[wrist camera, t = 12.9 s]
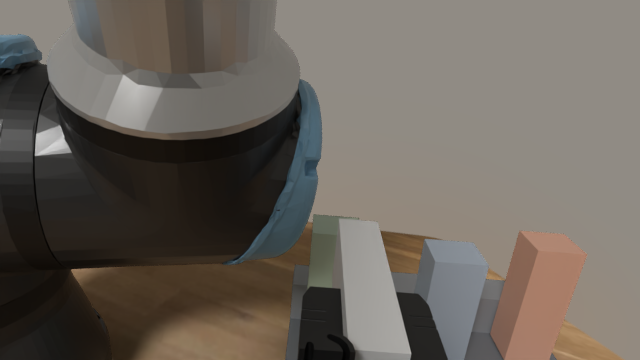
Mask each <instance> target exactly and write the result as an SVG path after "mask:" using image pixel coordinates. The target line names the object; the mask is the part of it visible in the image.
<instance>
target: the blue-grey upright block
mask: <svg viewBox="0 0 640 360" xmlns="http://www.w3.org/2000/svg"><path fill="white" fill-rule="evenodd" d="M488 268H489V265H488V264H487V262H486V261H485V259H484V258H483V256H482V255H481V253H480V252H479V250H478V249H477V247H476V246H475V245H474V243H471V242H459V241H446V240H433V239H424V245H423V250H422V255H421V260H420V265H419V270H418V275H417V280H416V285H415V290H414V293H416V294H419V295H420V296H421V297H422V298H423V299H424V300H425V301H426V303H427V304H428V305H429V307H430V310H431V313H432V316H433V320H434V321H435V324H436V327H437V328H436V329H437V330H438V333H439V336H440V338H441V341H442V344H443V347H444V350H445V352H446V355H447V358H448V360H464V358H465V354H466V350H467V347H468V343H469V339H470V335H471V332H472V328H473V324H474V320H475V317H476V313H477V309H478V305H479V302H480V298H481V294H482V290H483V287H484V283H485V279H486V275H487V272H488Z"/></svg>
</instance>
